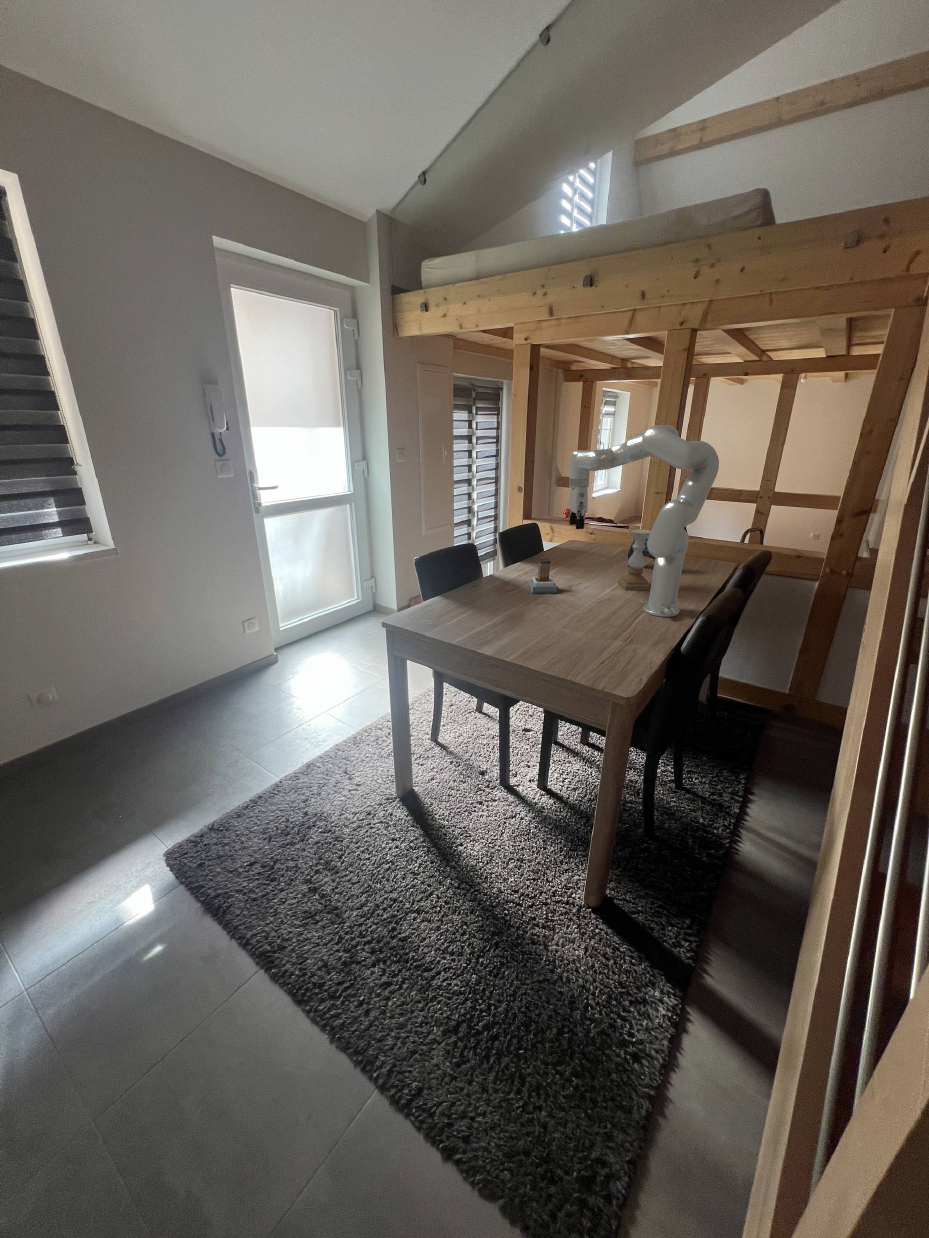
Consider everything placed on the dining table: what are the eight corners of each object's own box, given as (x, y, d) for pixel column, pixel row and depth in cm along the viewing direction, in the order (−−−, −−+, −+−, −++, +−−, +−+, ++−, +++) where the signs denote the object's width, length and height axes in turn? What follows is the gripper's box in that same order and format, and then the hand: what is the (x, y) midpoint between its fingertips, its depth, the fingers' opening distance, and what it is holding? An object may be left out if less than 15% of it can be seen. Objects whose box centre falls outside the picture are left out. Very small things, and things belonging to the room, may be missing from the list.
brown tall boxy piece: (548, 589, 205) (550, 561, 201) (538, 589, 205) (540, 561, 201) (546, 586, 209) (548, 558, 204) (537, 586, 209) (538, 558, 204)
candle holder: (650, 590, 207) (658, 534, 198) (624, 590, 207) (631, 534, 198) (642, 582, 217) (649, 528, 208) (617, 582, 217) (623, 528, 208)
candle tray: (556, 593, 203) (557, 583, 201) (532, 593, 203) (532, 583, 201) (552, 586, 212) (552, 576, 210) (528, 586, 212) (529, 576, 210)
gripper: (595, 485, 186) (591, 530, 192) (582, 481, 202) (579, 523, 208) (575, 485, 185) (572, 531, 191) (564, 481, 202) (562, 523, 208)
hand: (576, 526), depth 200 cm, fingers open, 9 cm apart
